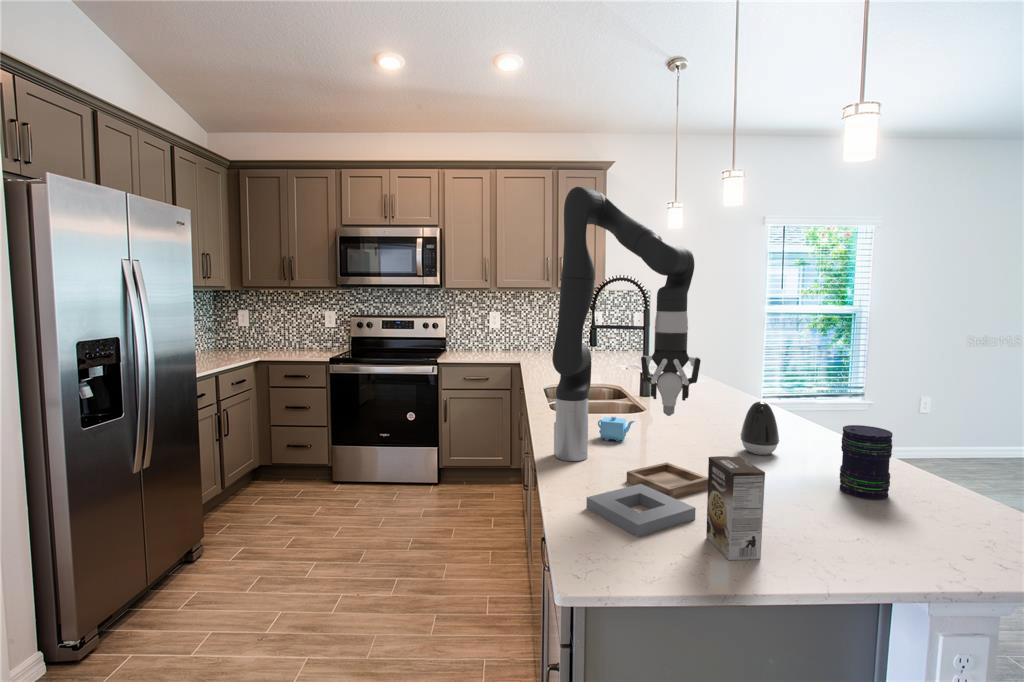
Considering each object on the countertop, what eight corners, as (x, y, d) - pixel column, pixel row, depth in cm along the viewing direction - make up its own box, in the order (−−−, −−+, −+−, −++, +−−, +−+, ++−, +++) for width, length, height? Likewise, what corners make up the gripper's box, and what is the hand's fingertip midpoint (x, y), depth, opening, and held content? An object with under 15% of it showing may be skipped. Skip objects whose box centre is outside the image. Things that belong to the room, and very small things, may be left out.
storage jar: (881, 487, 127) (885, 427, 126) (895, 502, 118) (900, 437, 116) (834, 482, 130) (837, 423, 129) (844, 497, 121) (848, 433, 120)
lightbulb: (670, 420, 123) (671, 373, 122) (650, 414, 128) (651, 370, 127) (687, 416, 127) (688, 371, 126) (667, 411, 132) (668, 368, 131)
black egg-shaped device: (740, 455, 152) (742, 403, 151) (739, 445, 162) (741, 397, 160) (779, 459, 148) (782, 406, 147) (776, 449, 158) (778, 399, 157)
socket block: (586, 508, 115) (586, 497, 115) (640, 494, 123) (640, 483, 123) (638, 537, 102) (638, 524, 101) (695, 519, 110) (695, 507, 109)
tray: (626, 481, 132) (626, 471, 131) (666, 471, 139) (666, 462, 138) (669, 500, 120) (669, 489, 119) (710, 488, 127) (710, 478, 126)
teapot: (636, 439, 170) (636, 416, 169) (633, 444, 164) (634, 420, 163) (599, 435, 174) (599, 413, 173) (595, 440, 168) (595, 417, 168)
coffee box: (704, 537, 101) (707, 456, 100) (736, 536, 102) (739, 455, 101) (727, 561, 92) (730, 472, 91) (762, 559, 93) (766, 471, 91)
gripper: (701, 329, 127) (699, 397, 129) (640, 328, 131) (638, 394, 133) (704, 332, 120) (701, 404, 122) (639, 330, 124) (638, 400, 125)
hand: (669, 399), depth 127 cm, fingers closed on lightbulb, 6 cm apart
